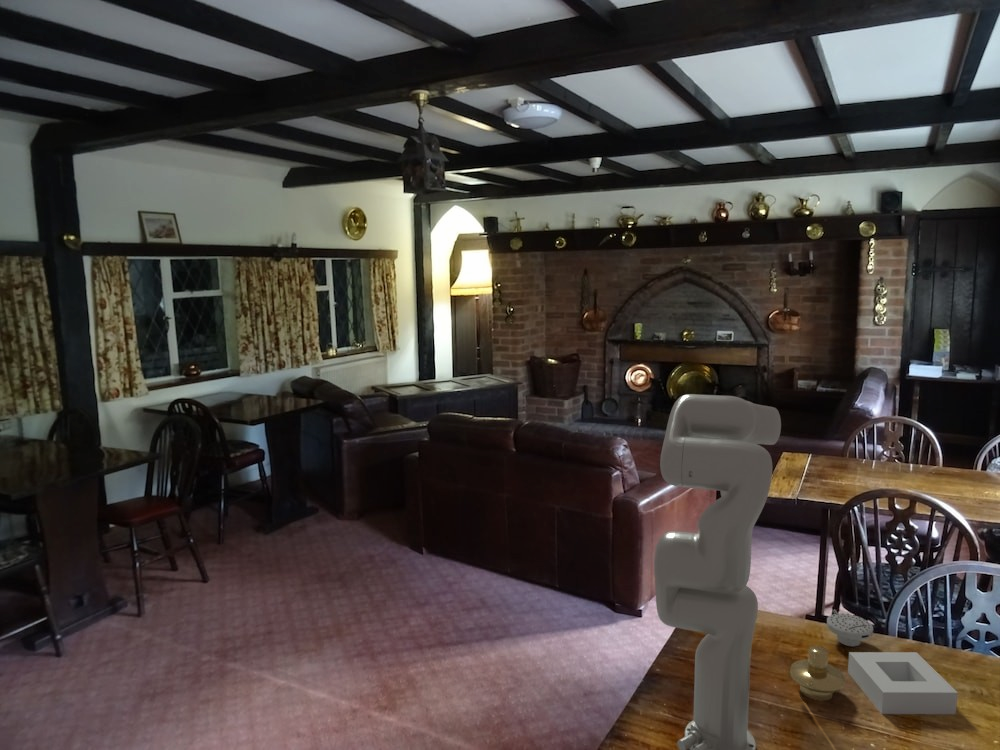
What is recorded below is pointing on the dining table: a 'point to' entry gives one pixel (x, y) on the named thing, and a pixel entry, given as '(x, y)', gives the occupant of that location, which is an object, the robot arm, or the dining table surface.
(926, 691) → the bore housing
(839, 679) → the end cover
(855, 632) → the showerhead
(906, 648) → the dining table surface
